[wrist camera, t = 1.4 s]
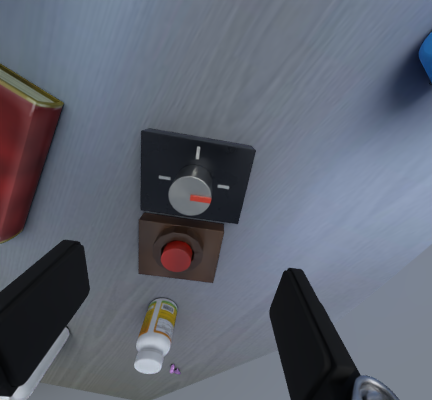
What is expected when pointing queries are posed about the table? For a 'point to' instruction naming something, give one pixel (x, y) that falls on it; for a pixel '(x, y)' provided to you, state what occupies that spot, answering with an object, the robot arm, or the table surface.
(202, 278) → the button block
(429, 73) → the alarm clock
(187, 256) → the button
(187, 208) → the timer knob
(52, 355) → the photo printer
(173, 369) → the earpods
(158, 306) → the supplement bottle
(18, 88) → the hardcover book
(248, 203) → the table surface
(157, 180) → the control panel
